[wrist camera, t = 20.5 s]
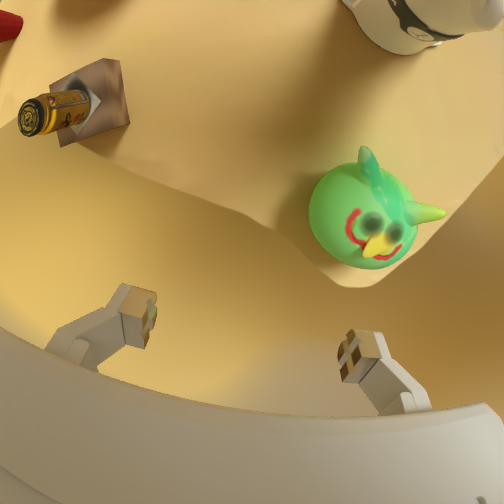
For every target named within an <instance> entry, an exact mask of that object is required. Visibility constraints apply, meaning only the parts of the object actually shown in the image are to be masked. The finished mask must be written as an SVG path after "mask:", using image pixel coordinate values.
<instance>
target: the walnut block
mask: <svg viewBox="0 0 504 504" xmlns="http://www.w3.org/2000/svg"><path fill="white" fill-rule="evenodd" d="M73 73H74V74H75V75H76V76H77V77H78V78H80V80H81V81H82V82H83V83H84V84H85V85H86V86H87V87H88V88H89V89H90V90H91V91H92V92H93V93H94V94H95V95H96V96H97V97H98V98H99V100H100V101H101V102H100V104H99V105H98V106H97V108H96V109H95V110H94V112H93V113H92V115H91V116H90V117H89V119H88V120H87V122H86V123H85V125H84V126H83V127H82V129H81V130H80V132H79V133H78V135H77V134H76V133H75V132H74V131H73V130H72V128H71V127H67V128H63V129H60V130H57V134H58V139H59V143H60V147H63V146H66V145H68V144H71V143H74V142H76V141H79V140H82V139H84V138H87V137H90V136H93V135H95V134H98V133H101V132H104V131H107V130H110V129H113V128H116V127H120V126H123V125H126V124H129V123H130V120H129V115H128V110H127V104H126V99H125V93H124V86H123V80H122V73H121V66H120V61H119V60H113V59H105V58H102V59H100V60H98V61H96V62H93V63H91V64H89V65H87V66H85V67H83V68H81V69H79V70H77V71H75V72H73ZM71 74H72V73H71ZM71 74H69V75H67V76H65V77H63V78H62V79H60V80H58V81H56V82H54V83H53V84H51V85H49V88H50V93H52V92H59V91H61V90H62V88H63V87H64V85H65V84H66V82H67V81H68V79H69V78H70V76H71Z"/></svg>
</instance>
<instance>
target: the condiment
mask: <svg viewBox="0 0 504 504" xmlns="http://www.w3.org/2000/svg"><path fill="white" fill-rule="evenodd" d="M100 102H101V101H100V100H99V98H98V97H97V96H96V95H95V94H94V93H93V92H92V91H91V90H90V89H89V88H88V87H87V86H86V85H85V84H84V83H83V82H82V81H81V80H80V78H78V77H77V76H76V75H75V74H74V73H72V74H71V76H70V78H69V79H68V81H67V82H66V84H65V85H64V87H63V88H62V90H61V91H59V92H52V93H46V94H41V95H39V96H38V97H36V98H32V99H29V100H27V101H26V102H25V103H23V105H22V106H21V108H20V110H19V114H18V126H19V129H20V131H21V132H22V134H23V135H24V136H28V137H31V136H34V135H44V134H48V133H51V132H54V131H57V130H60V129H63V128H67V127H71V128H72V130H73V131H74V132H75V133H76V134H77V135H78V133H79V132H80V130H81V129H82V127H83V126H84V125H85V123H86V122H87V120H88V119H89V117H90V116H91V115H92V113H93V112H94V110H95V109H96V108H97V106H98V105H99V104H100Z"/></svg>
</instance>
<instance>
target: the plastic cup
mask: <svg viewBox="0 0 504 504" xmlns="http://www.w3.org/2000/svg"><path fill="white" fill-rule="evenodd" d="M22 26H23V19H22V17H20V16H17V15H14V14H13V13H9V12H6V11H3V10H0V43H1V42H4V41H8V40H11V39H14V38H15V37H16V36H18V34H19V33H20V31H21V29H22Z"/></svg>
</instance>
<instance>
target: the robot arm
mask: <svg viewBox="0 0 504 504" xmlns="http://www.w3.org/2000/svg"><path fill="white" fill-rule="evenodd" d="M342 2H343V3H344V4H345V5H346V6H347V7H348V8H349V9H350V10H351V11H352V12H353V14H354V15H355V18H356V20H357V22H358V24H359V26H360V27H361V29H362V30H363V31H364V33H365V34H366V35H367V36H368V37H369V38H370V39H371V40H372V41H373V42H374V43H376V44H377V45H378V46H380V47H381V48H383V49H385V50H387V51H389V52H392V53H395V54H399V55H412V54H416V53H418V52H420V51H422V50H423V49H425V48H426V47H431V46H438V45H440V44H441V43H442V41H446V40H451V39H457V38H459V37H461V36H463V35H464V34H466V33H473V32H481V31H490V30H493V29H494V28H496V27H497V26H498V25H499V23H500V22H501V20H502V18H503V15H504V2H503V0H342ZM156 301H157V293H156V292H153V291H149V290H146V289H142V288H139V287H135V286H131V285H127V284H124V283H122V284H121V285H120V286H119V287H118V289H117V290H116V292H115V293H114V295H113V296H112V298H111V300H110V301H109V303H108V304H107V306H106V308H100V309H98V310H96V311H94V312H92V313H89V314H87V315H85V316H83V317H81V318H79V319H77V320H75V321H73V322H71V323H69V324H67V325H65V326H63V327H61V328H59V329H57V331H56V332H55V334H54V335H53V337H52V338H51V340H50V341H49V343H48V344H47V346H46V348H45V349H44V350H43V349H41V348H39V347H37V346H35V345H33V344H30V343H29V342H27V341H25V340H23V339H21V338H19V337H17V336H16V335H14V334H12V333H10V332H8V331H7V330H5V329H3V328H1V327H0V504H504V425H503V423H502V420H501V419H500V417H499V416H498V415H497V414H496V413H495V412H494V411H493V410H492V409H491V408H490V407H489V406H488V405H487V404H486V403H484V402H478V403H473V404H469V405H464V406H458V407H453V408H447V409H441V410H434V411H433V410H432V407H431V404H430V401H429V398H428V395H427V392H426V390H425V389H424V388H423V387H422V386H421V385H420V384H419V383H418V382H417V381H416V380H415V379H414V378H413V377H412V376H411V375H409V373H408V372H407V371H406V370H405V369H404V368H402V367H401V366H400V365H399V364H398V363H397V362H396V361H395V360H392V359H391V356H390V353H389V350H388V347H387V345H386V342H385V339H384V337H383V334H382V333H381V332H373V331H371V332H370V331H363V330H354V329H351V330H350V331H349V332H348V333H347V335H346V336H347V339H346V340H344V341H343V342H342V343H341V344H340V346H339V349H338V356H337V357H338V362H339V363H340V365H341V366H342V368H341V369H340V374H341V379H342V382H345V383H358V384H359V386H360V387H361V388H362V390H363V391H364V393H365V394H366V395H367V397H368V398H369V400H370V401H371V402H372V404H373V405H374V407H375V408H376V409H377V410H378V412H379V414H378V415H377V416H362V417H327V416H302V415H289V414H277V413H267V412H259V411H251V410H244V409H237V408H231V407H224V406H219V405H213V404H208V403H203V402H198V401H193V400H189V399H185V398H180V397H176V396H172V395H168V394H164V393H160V392H157V391H153V390H149V389H146V388H142V387H139V386H136V385H133V384H129V383H126V382H123V381H120V380H117V379H114V378H111V377H108V376H105V375H103V374H100V373H98V369H97V365H99V364H100V363H102V362H103V361H104V360H105V359H107V358H108V357H110V356H111V355H112V354H114V353H115V352H117V351H118V350H119V349H121V348H122V347H124V346H125V344H127V345H130V346H134V347H138V348H142V349H145V347H146V344H147V342H148V339H149V331H151V330H152V329H153V327H154V324H155V321H156V317H157V307H156V306H155V303H156Z"/></svg>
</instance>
